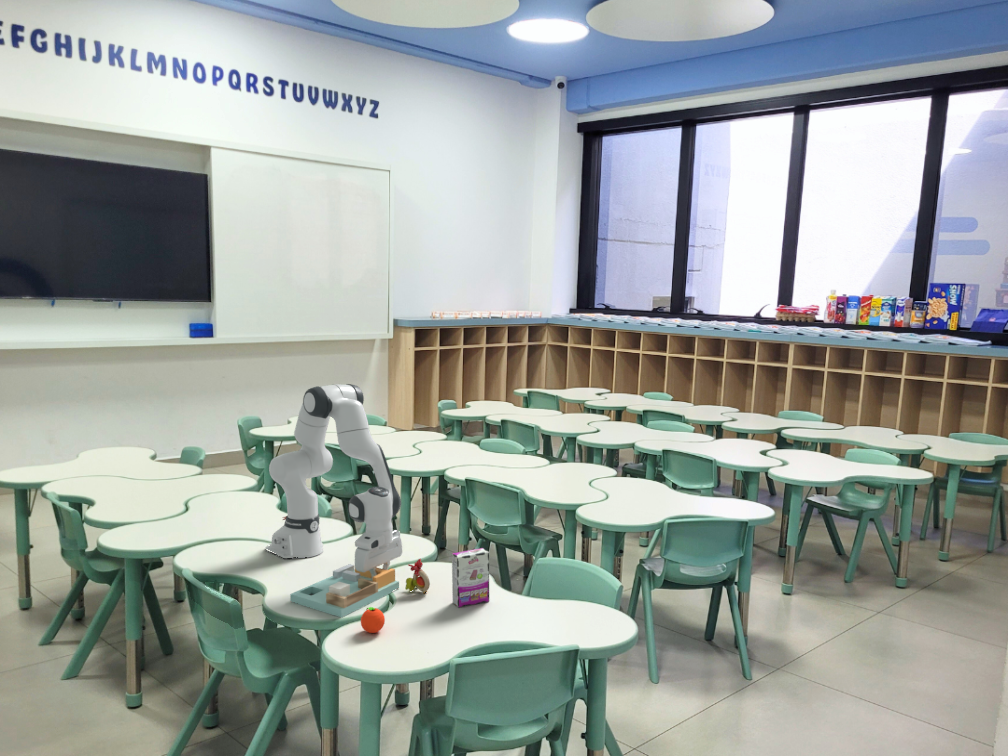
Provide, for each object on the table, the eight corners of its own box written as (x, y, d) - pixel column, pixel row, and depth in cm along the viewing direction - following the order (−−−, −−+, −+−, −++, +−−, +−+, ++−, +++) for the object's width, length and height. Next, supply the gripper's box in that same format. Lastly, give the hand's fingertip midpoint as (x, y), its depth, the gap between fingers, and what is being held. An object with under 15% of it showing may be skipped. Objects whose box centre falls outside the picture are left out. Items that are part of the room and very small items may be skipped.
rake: (340, 580, 256) (340, 568, 256) (360, 571, 264) (359, 560, 263) (376, 590, 248) (376, 578, 247) (395, 580, 256) (395, 569, 255)
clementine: (355, 629, 225) (354, 605, 224) (376, 623, 229) (376, 600, 228) (367, 639, 218) (366, 615, 218) (389, 633, 222) (388, 609, 222)
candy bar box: (482, 596, 250) (483, 547, 248) (489, 601, 245) (490, 552, 244) (451, 602, 245) (451, 552, 243) (457, 608, 240) (457, 557, 238)
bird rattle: (431, 596, 255) (412, 579, 259) (441, 569, 251) (422, 553, 255) (418, 602, 250) (399, 585, 254) (428, 575, 246) (409, 558, 251)
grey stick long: (342, 578, 257) (342, 572, 257) (347, 576, 259) (346, 570, 259) (355, 582, 254) (355, 575, 254) (360, 580, 256) (360, 573, 256)
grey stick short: (332, 577, 258) (332, 571, 258) (349, 570, 265) (349, 564, 265) (337, 578, 257) (337, 572, 257) (354, 571, 264) (354, 565, 264)
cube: (329, 600, 239) (328, 586, 239) (339, 595, 243) (339, 581, 243) (339, 603, 237) (339, 589, 237) (350, 598, 241) (349, 584, 240)
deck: (290, 601, 244) (290, 594, 244) (349, 575, 267) (349, 568, 267) (341, 617, 233) (341, 609, 232) (399, 588, 255) (399, 581, 255)
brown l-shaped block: (326, 602, 237) (326, 593, 237) (360, 586, 250) (360, 577, 250) (344, 608, 233) (344, 598, 233) (378, 591, 246) (378, 582, 246)
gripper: (392, 526, 266) (392, 565, 268) (351, 543, 249) (351, 584, 251) (406, 530, 263) (406, 569, 265) (365, 546, 246) (366, 588, 247)
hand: (379, 576), depth 257 cm, fingers open, 3 cm apart
